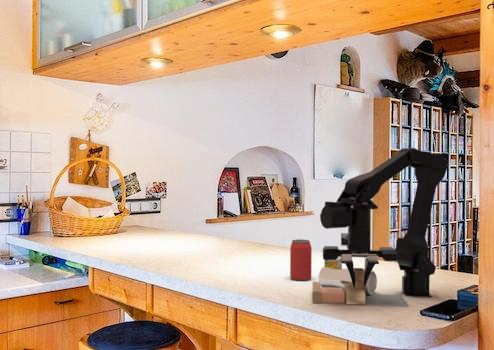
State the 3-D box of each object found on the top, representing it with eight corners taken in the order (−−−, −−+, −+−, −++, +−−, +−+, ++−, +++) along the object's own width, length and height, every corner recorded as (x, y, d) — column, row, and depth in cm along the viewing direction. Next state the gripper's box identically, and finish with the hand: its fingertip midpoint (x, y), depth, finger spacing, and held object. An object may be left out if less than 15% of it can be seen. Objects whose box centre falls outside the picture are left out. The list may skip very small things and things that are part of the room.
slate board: (401, 296, 144) (401, 284, 144) (409, 308, 132) (409, 294, 132) (312, 293, 147) (312, 281, 147) (312, 304, 135) (313, 291, 135)
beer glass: (331, 279, 157) (379, 285, 148) (321, 294, 152) (370, 300, 143) (325, 260, 155) (373, 264, 146) (315, 274, 150) (364, 280, 141)
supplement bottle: (345, 280, 164) (345, 249, 164) (334, 282, 160) (334, 251, 160) (331, 277, 168) (331, 247, 168) (320, 279, 164) (320, 248, 164)
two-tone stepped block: (361, 295, 142) (361, 265, 142) (365, 304, 133) (365, 273, 133) (344, 295, 143) (344, 265, 143) (346, 304, 134) (346, 272, 134)
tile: (342, 297, 141) (342, 287, 141) (344, 303, 135) (344, 293, 135) (320, 296, 142) (320, 287, 142) (320, 302, 136) (320, 292, 136)
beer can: (290, 276, 169) (290, 239, 169) (311, 276, 168) (311, 239, 168) (290, 280, 162) (290, 242, 162) (311, 281, 162) (311, 242, 162)
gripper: (391, 223, 144) (391, 280, 145) (322, 222, 147) (322, 279, 147) (398, 228, 133) (397, 290, 134) (323, 227, 136) (323, 288, 136)
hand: (359, 286), depth 138 cm, fingers closed on two-tone stepped block, 2 cm apart
